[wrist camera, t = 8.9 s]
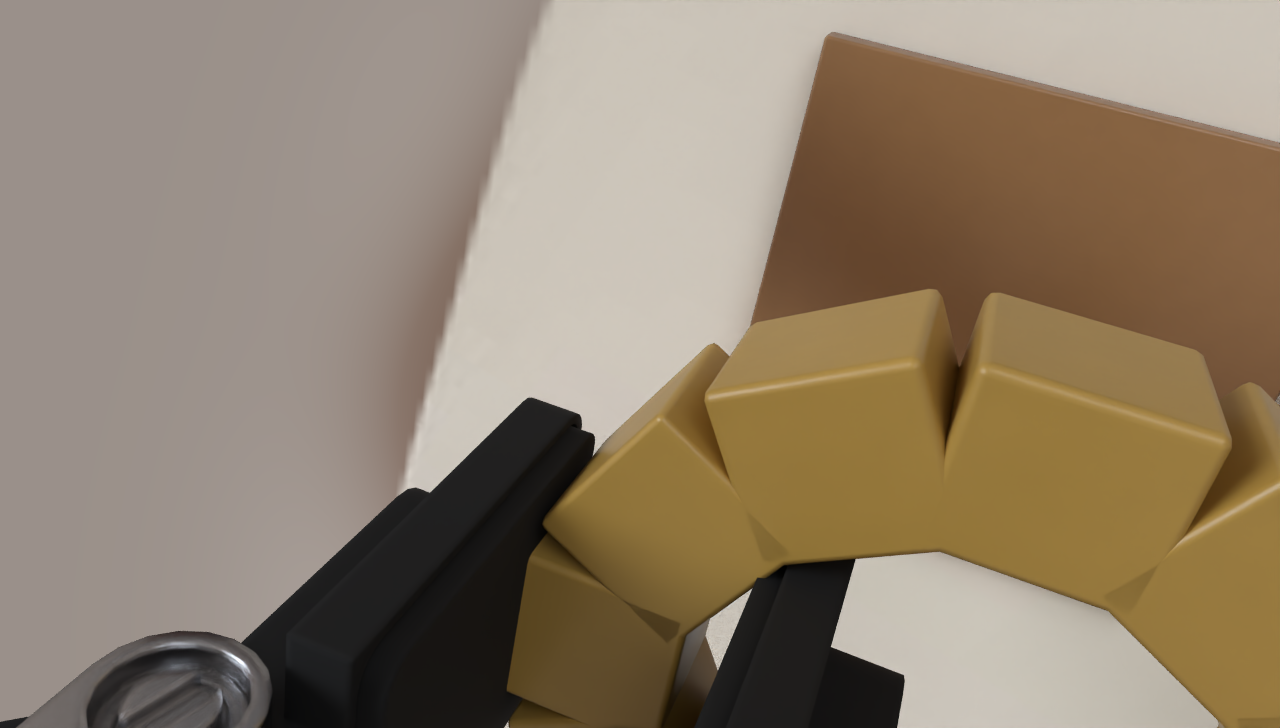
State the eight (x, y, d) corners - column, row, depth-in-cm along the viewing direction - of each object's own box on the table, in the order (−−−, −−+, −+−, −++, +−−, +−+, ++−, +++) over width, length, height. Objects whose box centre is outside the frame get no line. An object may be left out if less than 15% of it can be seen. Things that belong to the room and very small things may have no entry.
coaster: (830, 30, 16) (825, 34, 16) (1390, 169, 14) (1401, 178, 14) (720, 454, 20) (712, 466, 19) (1150, 604, 18) (1153, 622, 18)
